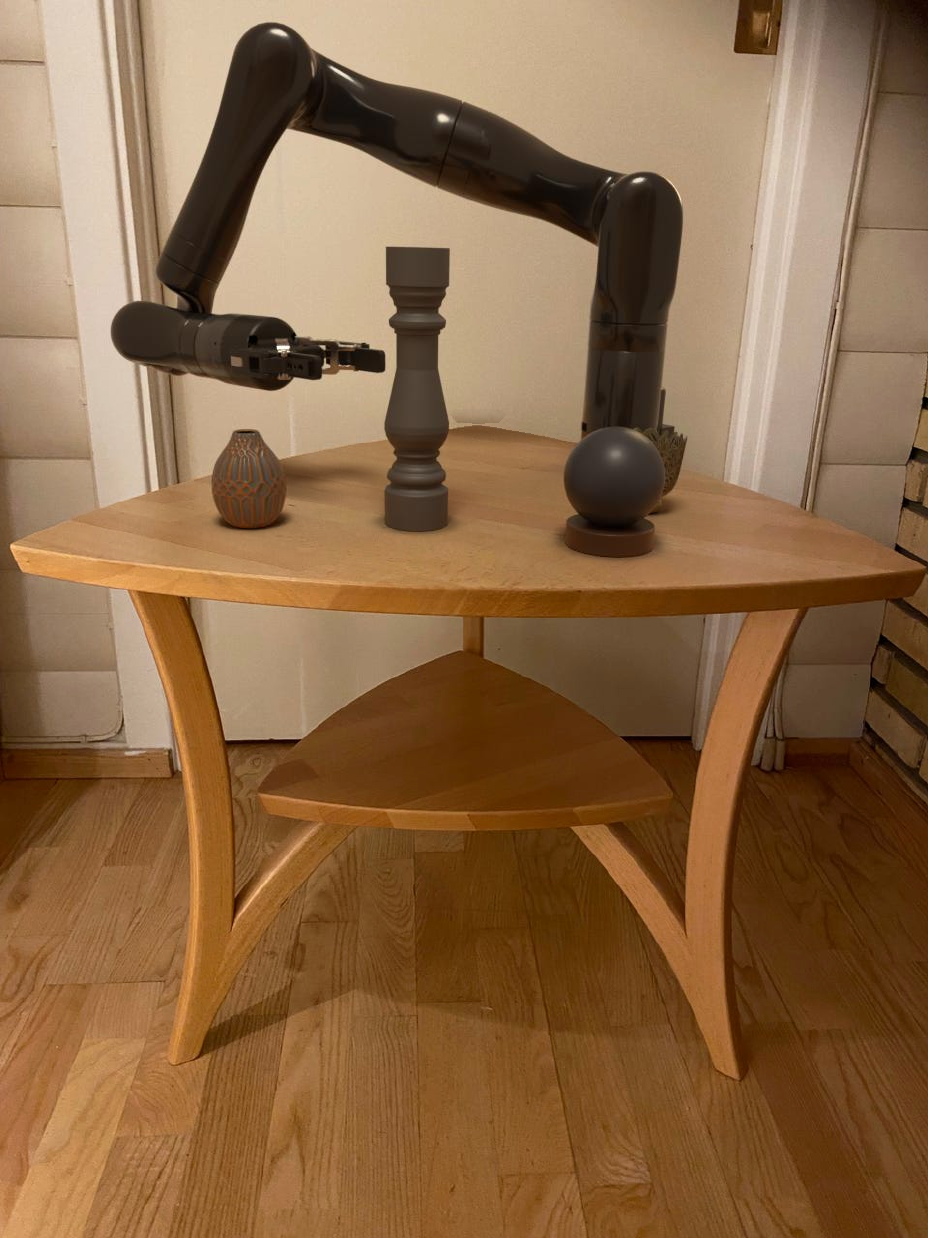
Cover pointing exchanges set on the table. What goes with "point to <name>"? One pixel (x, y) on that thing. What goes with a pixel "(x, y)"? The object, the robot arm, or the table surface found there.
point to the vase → (248, 481)
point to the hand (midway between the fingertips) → (352, 365)
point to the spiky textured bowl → (667, 456)
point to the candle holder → (417, 390)
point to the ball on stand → (613, 492)
